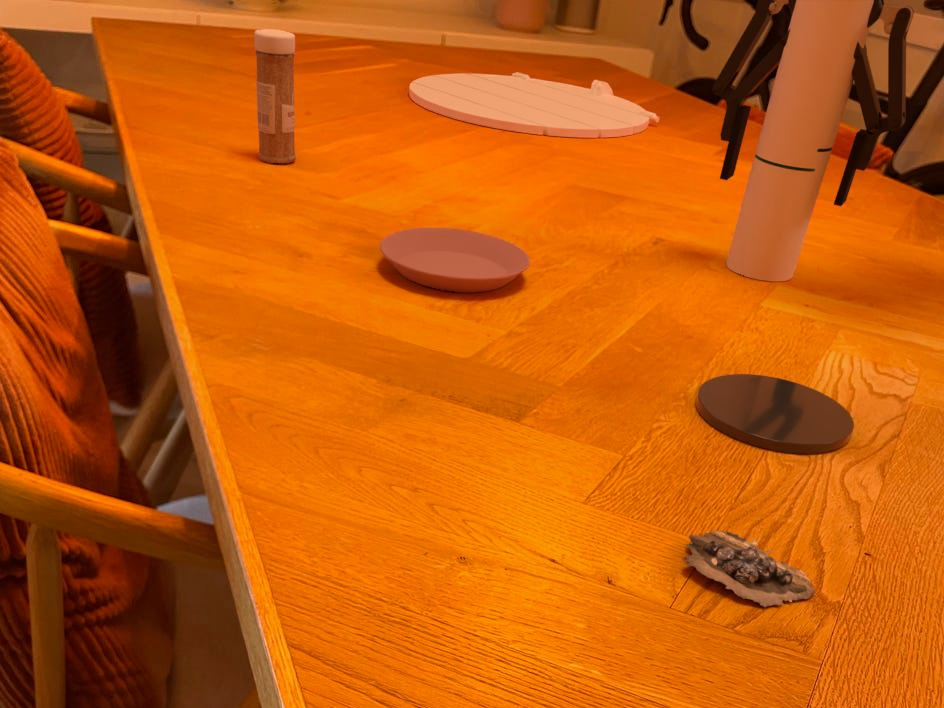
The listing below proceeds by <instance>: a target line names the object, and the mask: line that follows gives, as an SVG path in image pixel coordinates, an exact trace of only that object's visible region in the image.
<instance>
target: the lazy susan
mask: <svg viewBox="0 0 944 708" xmlns="http://www.w3.org/2000/svg"><path fill="white" fill-rule="evenodd" d="M408 90H409V91H408V96H409V98H410V99H411V100H412V101H413V102H414V103H415V104H417V105H418V106H420V107H422V108H424V109H425V110H429V111H430V112H433V113H436V114H439V115H441V116H444V117H447V118H450V119H453V120H456V121H461V122H465V123H469V124H474V125H478V126H481V127H482V126H483V127H487V128H492V129H498V130H502V131H503V130H504V131H510V132H516V133H522V134H529V135H539V136H543V135H544V136H548V137H560V138H577V139H578V138H584V139H589V138H590V139H598V138H601V139H604V138H618V137H627V136H632V135H636V134H639V133H641V132H644V131H645V130H647V128H648V126H649V123H650V121H651V122H654V123H659V121H660V119H661V118H660V116H659V115H657V113H655V112H652V111H649V110H646V109H645V108H644V107H642V106H641V105H638V103H635V102H632V101H630V100H628V99H625V98H622V97H619V96H617V95H614V92H613V89H612V87H611V86H610V84H609V83H608V82H607V81H603V80H599V79H594V80H593V81H592V83H591V86H590V88H588V87H583V86H578V85H574V84H569V83H564V82H558V81H552V80H547V79H539V78H532V77H531V76H530V75H529V74H526V73H522V72H520V71H519V72H518V71H516V72H514V73H511V75H505V74H489V73H488V74H487V73H442V74H441V73H440V74H433V75H432V74H431V75H426V76H422V77H419V78H416V79H414V80H412V81H411V82H410V84H409V89H408Z"/></svg>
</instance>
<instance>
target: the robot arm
mask: <svg viewBox="0 0 944 708" xmlns="http://www.w3.org/2000/svg"><path fill="white" fill-rule="evenodd" d="M786 4H788V7H789V11H790V14H791V15H792V14H793V11H794V8H795V4H796V0H757V2H756V7H755V12H754V14H753V15H752V16H751V19H750V21H749V22H748V24H747V25H746V27H745V29H744V31H743V33H742V34H741V36H740V38H739V40H738V41H737V43H736V45H735V46H734V48H733V50H732V52H731V54H730V56H729V57H728V59H727V61H726V63H725V64H724V65H723V68H722V69H721V71H720V73H719V75H718V76H717V78H716V80H715V81H714V83H713V85H712V87H711V91H712V94H713V95H714V96H717V97H719V98H721V99H722V100H723V101H724V102H725V104H726V109H725V114H724V118H723V122H722V126H721V131H720V134H719V135H720V141H723V142H727V148H726V151H725V156H724V158H723V163H722V168H721V172H720V175H719V179H720V180H724V181H728V180H729V179H731V178H732V177H734V175H735V171H736V168H737V163H738V160H739V155H740V152H741V147H742V144H743V141H744V137H745V132H746V128H747V124H748V120H749V116H750V113H751V109H752V106H751V105H746V104H744V103H745V102H747V101H746V100H747V99H748V98H749V97H750V96H751V94H752V93H754V91H755V90H756V89H757V88H758V87H759V86H760V85H761V84H762V83H763V82H764V81H765V80H766V79H767V78H768V76H770V75H771V73H772V72H773V71H774V70H775V69H776V68H778V67H779V63H780V59H781V57H782V53H783V50H784V47H785V45H786V43H787V40H788V36H789V32H790V29H791V28H790V29H789V28H788V29H789V31H788V30H787V32H785V34H784V35H783V36H782V37H781V38H780V39H779V41H778V42H777V43H776V44H775V45H774V47H772V49H771V50H770V51H769V52H768V53H767V54H766V55H765V56H764V57H763V58H762V59H761V60H760V62H759V63H757V65H755V67H754V68H753V69H752V70H751V72H749V74H748V75H747V76H746V77H744V79H743V80H742V81H741V82H740V83H739V84H738V85H737V86H735V85H734V83H735V82H736V79H737V77H738V76H739V74H740V72H741V71H742V69H743V68H744V65H745V64H746V63H747V61H748V59H749V58H750V55H751V54H752V52H753V51H754V48H755V47H756V45H757V44H758V42H759V40H760V39H761V37H762V35H763V33H764V32H765V30H766V28H767V27H768V25H769V23H770V21H771V20H772V17H773V15H775V14H778V13H780V12H781V10H782V9H783V7H784V5H786ZM914 14H915V11H914V9H913V7H912V6H908V5H907V6H904V7H899V6H893V5H888V4H887V5H886V4H885V2H884V0H874V3H873V6H872V9H871V12H870V15H869V19H868V23H867V28H869V27H870V28H871V27H872V26H873V25H874V24H875V23H876V22H877V21H879V19H880V20H882V22H883V31H884V33H885V34H886V35H889V37H888V45H887V46H888V47H887V48H888V49H887V59H888V61H887V115H884V116H883V114H882V109H881V106H880V100H879V97H878V92H877V89H876V85H875V81H874V77H873V73H872V68H871V65H870V61H869V55H868V48H867V45H866V43H865V45H864V48H862V47H861V46H860V44H859V42H857V45H856V48H855V51H854V59H855V63H854V66H853V69H852V75H853V79H854V81H853V84H854V87H855V90H856V95H857V99H858V102H859V106H860V107H859V108H860V110H861V115H862V118H863V122H864V127H865V129H863V128H860V129H859V130H858V131H857V132H856V133H855V136H854V139H853V143H852V146H851V149H850V151H849V152H850V153H849V155H848V158H847V161H846V164H845V167H844V171H843V174H842V177H841V179H840V183H839V186H838V189H837V193H836V196H835V199H834V202H833V206H838V207H842V206H843V205H844V204H845V203H846V202H847V199H848V196H849V193H850V190H851V188H852V184H853V180H854V177H855V175H856V171H857V170H859V171H861V172H862V171H863V172H865V170H866V169H867V168H868V167H869V165H871V163H872V159H873V156H874V154H875V150H876V147H877V144H878V142H879V138H880V137H881V135H882V134H883V133H887V132H896V131H899V130H900V129H901V128H902V127H903V126H904V124H905V123H906V108H907V107H906V105H907V102H906V100H907V99H906V97H907V94H906V93H907V35H908V33H909V31H910V26H911V24H912V21H913V18H914Z"/></svg>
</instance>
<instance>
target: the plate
mask: <svg viewBox="0 0 944 708" xmlns="http://www.w3.org/2000/svg"><path fill="white" fill-rule="evenodd" d="M379 249H380V252H381V254H382V255H383V256H384V257H385V258H386V259H387V260H388V262H389V263H390V264H391V265H392V266H393V267H394V268H395V269H396V271H397V272H398V273H399V274H400V273H401V274H400V275H402V276H403V277H404V278H405V279H407V278H408V279H407V280H409V279H410V280H409V281H411V280H412V281H411V282H413V281H414V282H413V283H415V282H417V283H416V284H418V283H420V284H422V285H421V286H423V285H425V286H424V287H426V286H429V287H428V288H430V287H433V288H432V289H434V288H436V289H435V290H439V289H440V291H445V290H447V291H446V292H452V291H455V292H454V293H484V292H491V291H494V290H497V289H500V288H503V287H504V286H506V285H507V284H509V283H510V282H512V281H513V280H514V279H516V278H517V277H519V276H520V275H522V274H523V273H524V272H526V270H528V268H529V267H530V264H531V259H530V256H529V255H528V254H527V252H525V250H523V248H521V247H519V246H517V245H516V244H514V243H513V242H510V241H508V240H505V239H503V238H499V237H497V236H494V235H490V234H486V233H483V232H478V231H473V230H468V229H467V230H466V229H460V228H449V227H417V228H416V227H415V228H408V229H403V230H399V231H396V232H393V233H390V234H388V235H387V236H385V237H384V238H383V239H382V240H381V241H380V243H379ZM420 284H419V285H420Z"/></svg>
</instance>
